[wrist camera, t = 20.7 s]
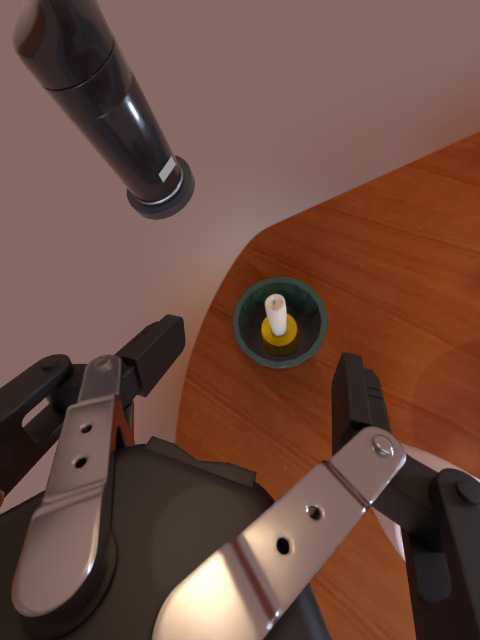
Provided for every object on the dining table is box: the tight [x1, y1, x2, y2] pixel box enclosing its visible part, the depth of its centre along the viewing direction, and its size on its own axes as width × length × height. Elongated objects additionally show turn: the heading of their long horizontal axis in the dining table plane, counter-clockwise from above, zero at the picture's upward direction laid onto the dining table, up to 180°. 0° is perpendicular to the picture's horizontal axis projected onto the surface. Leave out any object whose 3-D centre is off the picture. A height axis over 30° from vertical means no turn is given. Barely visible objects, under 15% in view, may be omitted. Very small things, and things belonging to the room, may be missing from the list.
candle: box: [260, 294, 301, 356], centre depth 24 cm, size 5×5×16 cm
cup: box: [232, 276, 328, 371], centre depth 28 cm, size 9×9×9 cm
